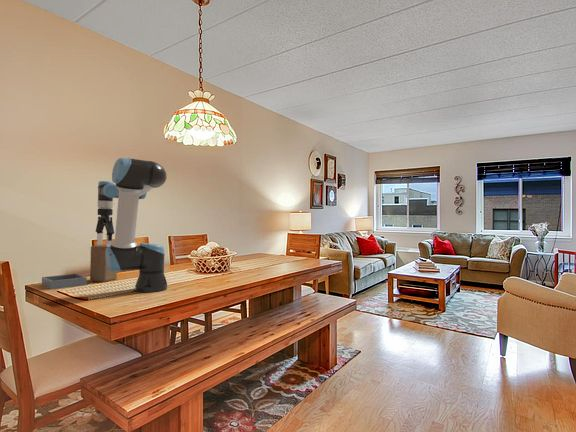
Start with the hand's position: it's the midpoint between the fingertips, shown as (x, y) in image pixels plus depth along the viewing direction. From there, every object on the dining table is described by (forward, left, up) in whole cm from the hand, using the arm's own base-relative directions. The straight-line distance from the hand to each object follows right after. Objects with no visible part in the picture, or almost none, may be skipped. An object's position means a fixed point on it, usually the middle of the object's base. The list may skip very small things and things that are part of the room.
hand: (104, 245), depth 187 cm
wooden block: (0, 0, -20) cm, 20 cm away
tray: (+1, +19, -20) cm, 28 cm away
